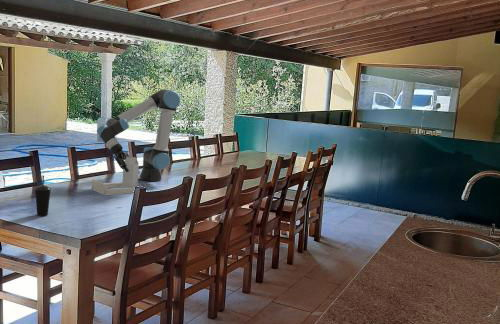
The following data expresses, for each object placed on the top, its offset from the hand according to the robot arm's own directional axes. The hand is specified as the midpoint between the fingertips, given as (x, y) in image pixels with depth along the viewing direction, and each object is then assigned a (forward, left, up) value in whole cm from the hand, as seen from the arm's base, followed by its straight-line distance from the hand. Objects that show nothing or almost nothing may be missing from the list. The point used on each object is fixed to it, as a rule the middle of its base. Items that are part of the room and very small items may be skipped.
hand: (135, 174), depth 317 cm
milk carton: (+2, -3, -8) cm, 9 cm away
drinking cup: (+70, +34, -10) cm, 78 cm away
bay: (+10, -3, -10) cm, 14 cm away
